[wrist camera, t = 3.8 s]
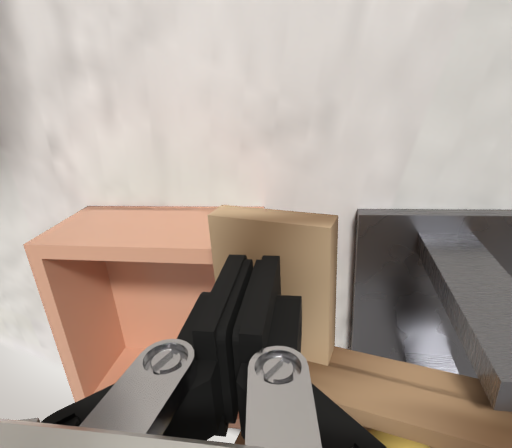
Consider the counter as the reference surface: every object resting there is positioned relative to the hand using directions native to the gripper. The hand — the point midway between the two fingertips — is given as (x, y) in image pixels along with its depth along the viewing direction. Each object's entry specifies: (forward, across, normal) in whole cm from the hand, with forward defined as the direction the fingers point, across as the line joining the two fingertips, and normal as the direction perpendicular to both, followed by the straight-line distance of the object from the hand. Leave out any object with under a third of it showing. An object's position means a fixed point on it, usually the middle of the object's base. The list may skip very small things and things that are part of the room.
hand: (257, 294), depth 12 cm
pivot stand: (+8, -8, +5) cm, 12 cm away
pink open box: (+8, +6, +5) cm, 11 cm away
